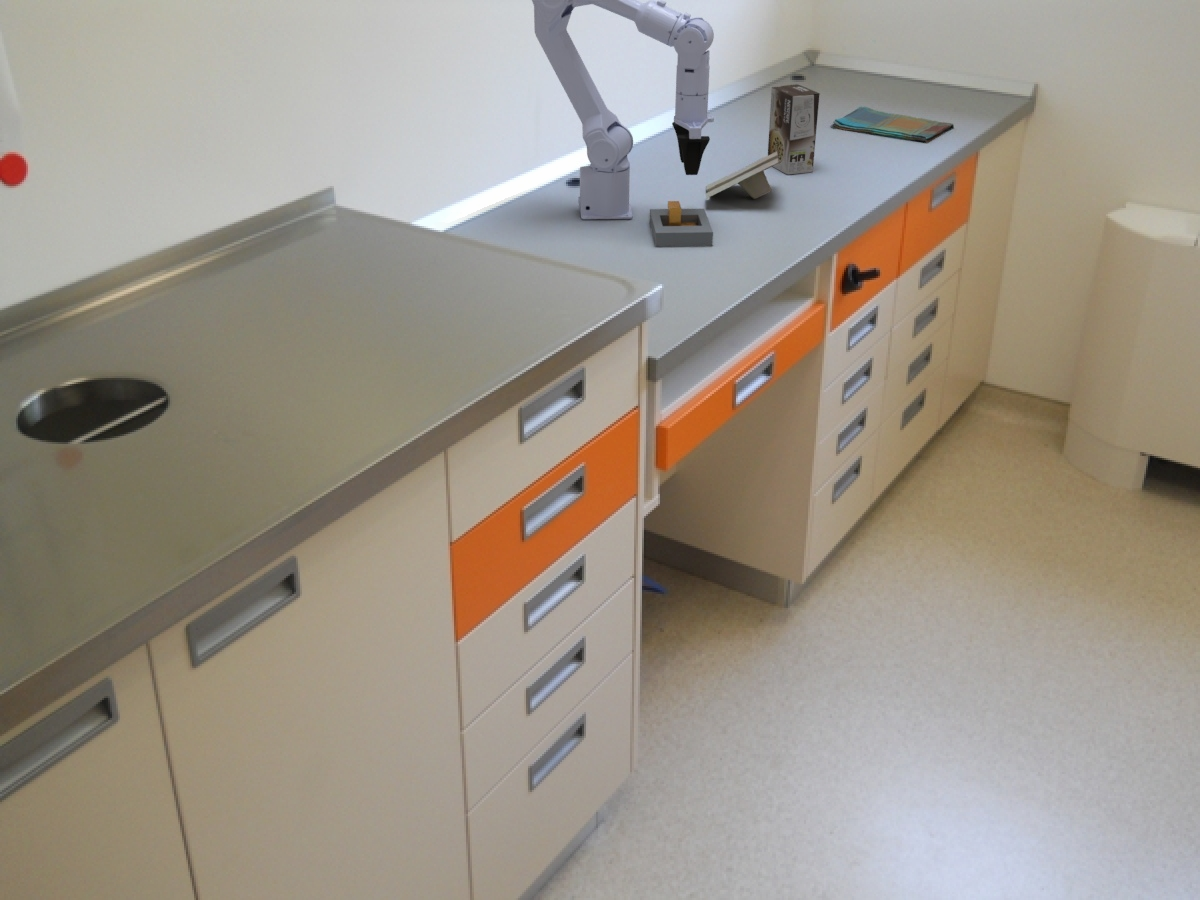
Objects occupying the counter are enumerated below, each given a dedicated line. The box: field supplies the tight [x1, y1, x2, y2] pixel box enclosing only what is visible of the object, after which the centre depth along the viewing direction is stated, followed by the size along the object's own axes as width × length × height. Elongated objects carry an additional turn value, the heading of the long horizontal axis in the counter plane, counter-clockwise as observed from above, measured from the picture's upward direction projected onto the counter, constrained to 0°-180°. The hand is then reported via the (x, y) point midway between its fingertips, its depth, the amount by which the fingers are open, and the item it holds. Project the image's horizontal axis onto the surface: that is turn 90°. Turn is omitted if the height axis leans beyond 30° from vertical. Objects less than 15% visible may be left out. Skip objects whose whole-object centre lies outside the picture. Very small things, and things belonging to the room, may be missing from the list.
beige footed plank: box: [705, 152, 780, 200], centre depth 245 cm, size 16×9×15 cm
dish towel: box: [830, 106, 955, 144], centre depth 293 cm, size 17×23×2 cm
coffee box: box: [767, 83, 821, 176], centre depth 261 cm, size 9×6×16 cm
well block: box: [648, 208, 714, 248], centre depth 228 cm, size 10×13×2 cm
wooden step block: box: [667, 200, 696, 226], centre depth 227 cm, size 5×4×6 cm
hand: (689, 168), depth 230 cm, fingers open, 7 cm apart
